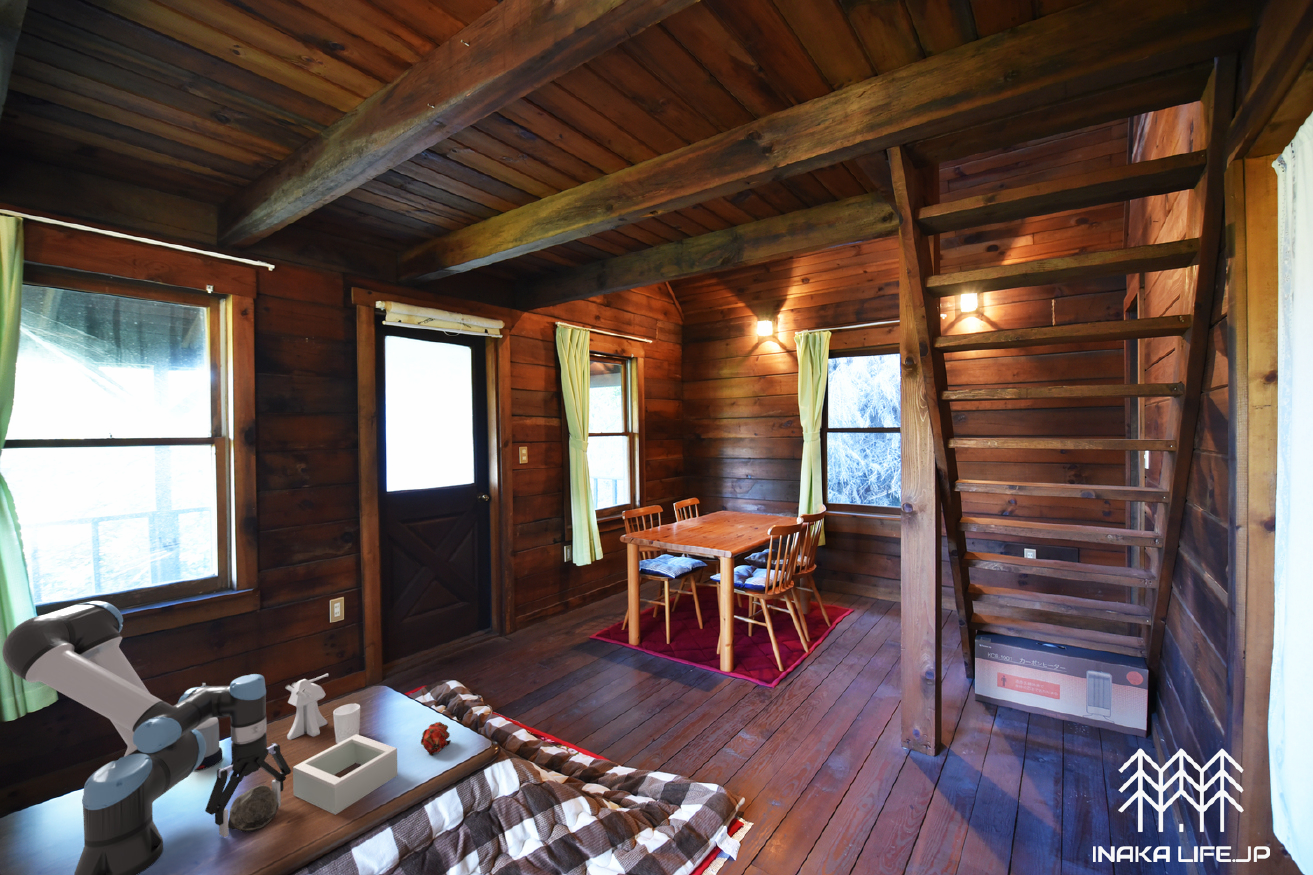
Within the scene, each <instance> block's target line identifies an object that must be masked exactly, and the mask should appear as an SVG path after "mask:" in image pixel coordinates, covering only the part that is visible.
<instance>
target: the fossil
mask: <svg viewBox="0 0 1313 875" xmlns="http://www.w3.org/2000/svg"><path fill="white" fill-rule="evenodd" d="M278 805H279V803H278V802H277V800H276V794H275V792H274V791H273V790H272V788H271V787H270V786H268V785H265V784H263V785H261V784H260V785H257V786H255V787H252V788H250V789H248V790H247V791H245V792H243V794H239V796H237V797H236V798H235V799H234V801H233V802H232V804H231V807H230V810H229V815H228V829H231V830H236V831H239V832H242V833H251V832H255V831H258V830H260V829H262V828H264V827H266V825H268V824H269V823H270V822H271V821H272V820H273V819H274V817H275V816H276V814H277V812H278V810H279V807H278Z"/></svg>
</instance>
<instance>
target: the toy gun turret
mask: <svg viewBox="0 0 1313 875" xmlns="http://www.w3.org/2000/svg"><path fill="white" fill-rule="evenodd" d="M325 677H329V673H325V674H323V675H321V676H317V677H316V678H315V677H314V678H312V679H306V678H303V679H300V680H298V681H297V682H292V684H291V685H290V684H287V685H286V686H285V689H286V690H288V691H289V692H290V693H291V694H290V697H289V699H288V701H287V703H288V704H290V705H292V706H295V707H296V713H295V718H294V721H293V723H292V725H291V728H290V730H289V731H288V733H287V735H286V738H287V740H290V741H291V740H293V739H296V738H298V737H301V736H303V735H305V734H307V735H308V736H310V737H316V736H319V735H320V733H321V731H320V728H321V727H324V726H326V725H327V724H328V720H327V719H325V718H324V717H323V715H322V714H321V711H320V710H319V706H318V701H319V700H322V699H324V698H325V696H326V693H325V690H324V688H323V687H322V686H321V685H318V684H316V683H314V682H315V681H318V680H320V679H324V678H325Z"/></svg>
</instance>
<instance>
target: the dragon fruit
mask: <svg viewBox="0 0 1313 875" xmlns="http://www.w3.org/2000/svg"><path fill="white" fill-rule="evenodd" d="M448 729H449V726H448V725H447V724H445V723H443V722H441V721H437V722H435V723H432V724H430V725H429V726H428V727H427V728H426V729H425V730H424V731H423V732H422V734H421V735H422V736H421V740H420V745H422V746H423V748H424V749H425V750H426V752H428V754H429V755H430V756H434V754H438V753H440V752H441V751H442V750H443V749H444V748H445V747H447V746H449V745H450V744H451V741H452V740H451V739H449V738H450V736H451V734H450V732H449V731H448ZM448 739H449V740H448Z"/></svg>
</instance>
